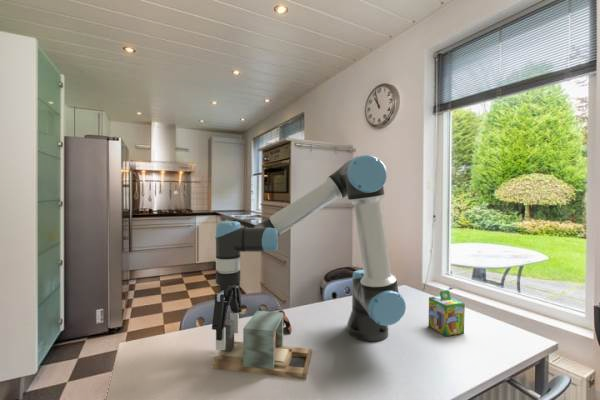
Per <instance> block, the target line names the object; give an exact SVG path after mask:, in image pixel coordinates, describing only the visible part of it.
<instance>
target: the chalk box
mask: <svg viewBox="0 0 600 400" xmlns="http://www.w3.org/2000/svg"><path fill="white" fill-rule="evenodd" d="M444 294H446V295H444ZM465 305H466V304H465V303H464V302H462V301H460V300H458V299H456V298H453V297H451V293H450V290H440V291H439V295H438V296H430V297H428V325H427V326H428V327H430V328H431V329H433V330H434V331H437V332H438V333H440V334H442V335H443V336H445V337H448V336H453V335H461V334H465V312H466V311H465Z"/></svg>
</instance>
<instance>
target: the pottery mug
mask: <svg viewBox="0 0 600 400" xmlns="http://www.w3.org/2000/svg"><path fill="white" fill-rule="evenodd" d="M276 312H280V313H283V327H284V326H285V328H286V329H287V330H288V332H289V335H291V334H292V331H293V330H292V325H291V323H290V320H289V318H288V317H287V316H286V313H285V311H284V310H282V309H280V310H278V311H276Z"/></svg>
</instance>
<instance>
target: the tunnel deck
mask: <svg viewBox="0 0 600 400" xmlns="http://www.w3.org/2000/svg"><path fill="white" fill-rule="evenodd" d="M242 330H243V331H242V333H243V335H242V337H243V338H242V340H243V341H236V340H234V344H242V345H243V358H235V357H226V356H220V354H221V353H222V352H223V351H221V352H219V354H218V355H215V357H214V361H213V362H212V369H217V370H224V371H233V372H239V373H240V372H241V373H249V374H250V373H251V374H256V375H259V374H260V375H265V376H275V377H284V378H292V379H293V378H294V379H301V380H306V379H307V375H308V372H309V368H310V362H311V359H312V354H313V353H312V352H313V351H312V350H313V349H312V348H307V347H296V346H286V345H285V346H284V326H283V313H280V312H277V311H265V310H256V311H255V313H254V314H253V316H252V317H251V318H250V319H249V320H248V321H247V323H246V324H245V325H244V327H243V328H242ZM275 331H276V337H275ZM275 348H282V349H289V352H288V355H287V358H286V360H285V363H281V362H274V358H275Z"/></svg>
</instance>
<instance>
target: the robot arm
mask: <svg viewBox="0 0 600 400" xmlns="http://www.w3.org/2000/svg"><path fill="white" fill-rule="evenodd" d="M387 178H388V172H387V167H386V165H385V164H384V163H383V162H382V160H381V159H379V158H378V157H376V156H374V155H370V154H364V155H359V156H356V157H354V158H352V159H350V160H348V161H347V162H344V164H343V165H341V167H339V168H338V169H337V170H336V171H334V172H333V173H332V174H330V175H329V176H327V177H326V180H325V182H323V183H321V184H319V185H318V186H316V187H315V188H313V189H312V190H310V191H309V192H307V193H306V194H304V195H303V196H301V197H299V198H298V199H296V200H295V201H293V202H291V203H290V204H288V205H287V206H285V207H284V208H283V207H282V209H281V210H279V211H277V212H276V213H274V214H272V215H271V216H270V217H269V218H266V219H265V220H263V221H261V222H259V223H257V224H256V225H254V227H242V225H241V222H239V221H237V220H235V221H233V220H227V221H226V220H225V221H219V222H218V223H217V224H216V227H215V230H216V231H215V259H214V262H215V270H216V272H215V284H216V285H218V286H219V293H216V294H214V307H213V314H212V324H211V330H213V331H215V350H217V351H218V350H219V351H221V350H225V334H226V328H225V327H224V325H225V320H227V319H226V318H227V314H228V313H227V312H228V309H229V307H230V311H231V312H230V315H229V317H230V318H229V320H234V334H239V332H240V331H239V326H240V324H239V323H240V321H239V320H240V317H239V315H240V313H242V311H243V309H242V298H241V297H242V296H241V290H240V288H241V287H240V286H241V271H240V269H242V268H241V252H243V253H245V252H247V253H248V252H249V253H250V252H251V253H252V252H258V253H259V252H260V253H261V252H263V253H269V252H276V251H278V248H279V236H280V235H282V234H284V233H285V232H287V231H288V230H290V229H291V228H293V227H295V226H297V225H298V224H300V223H302V222H303V221H304V220H306V219H307V218H309V217H311V216H312V215H314V214H315V213H317V212H318V211H320V210H321V209H323V208H325V207H327V206H328V205H329V204H331V203H332V202H334V201H336V200H337V199H338V200H343V199H344V198H346V197H347V201H348V202H350V203H351V204H352V206H353V210H354V217H355V221H356V222H355V223H356V229H357V235H358V236H357V237H358V241H359V242H358V243H359V244H358V245H359V250H360V256H361V263H362V264H361V265H362V268H363V269H358V270H355V271H353V273H352V278H351V282H352V286H351V289H352V290H351V292H352V294H351V296H352V297H351V298H352V299H351V303H352V304H351V305H352V306H351V308H352V309H351V311H350V315H349V318H348V321H347V322H346V323H347V327H346V328H347V329H346V330H347V333H348V334H349V335H350V336H352V337H353V338H356V339H358V340H362V341H366V342H380V341H382V340H383V341H384V340H386V339H387V338H388V336H389V326H393V325H395V324H397V323H398V322H400V321H401V319H402V318H403V317H404V315H405V312H406V309H407V306H406V305H407V304H406V301H405V299H404V296H403V295H402V294H401V293H400V291H399V287H398V286H399V284H398V279H397V277H396V276H395V275H394V274H393V273H391V265H390V264H391V263H390V257H389V253H388V252H389V250H388V244H387V237H386V236H387V235H386V230H385V224H384V217H383V209H382V203H381V201H382V199H383V198H384V197H385V188H384V185H385V183H386V181H387Z"/></svg>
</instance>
